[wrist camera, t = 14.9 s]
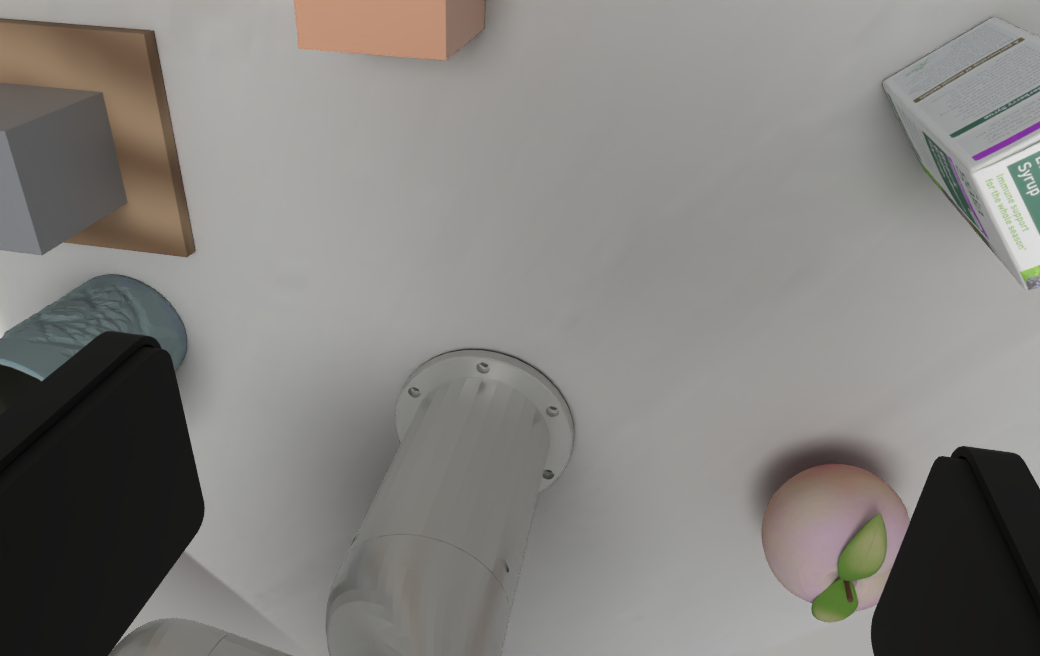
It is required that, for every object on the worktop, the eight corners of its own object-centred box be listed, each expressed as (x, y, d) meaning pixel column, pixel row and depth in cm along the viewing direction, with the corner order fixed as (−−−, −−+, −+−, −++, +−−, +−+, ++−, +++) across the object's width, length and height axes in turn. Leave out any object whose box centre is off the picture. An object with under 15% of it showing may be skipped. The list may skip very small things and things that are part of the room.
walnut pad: (195, 250, 53) (187, 257, 52) (7, 228, 55) (-4, 234, 54) (153, 30, 46) (143, 34, 45) (-62, 13, 48) (-75, 16, 47)
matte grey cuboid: (102, 92, 47) (4, 131, 41) (127, 202, 51) (42, 255, 44) (-4, 82, 48) (-116, 119, 42) (29, 191, 52) (-70, 241, 45)
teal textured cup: (105, 237, 54) (-30, 326, 44) (226, 334, 56) (124, 440, 46) (47, 323, 59) (-86, 421, 49) (161, 409, 61) (56, 519, 51)
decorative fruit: (766, 421, 52) (782, 530, 43) (899, 433, 51) (943, 549, 42) (747, 526, 57) (758, 644, 48) (868, 541, 55) (902, 664, 47)
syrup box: (876, 81, 40) (959, 178, 28) (997, 10, 38) (1147, 82, 26) (924, 171, 42) (1021, 300, 30) (1043, 109, 40) (1203, 222, 27)
